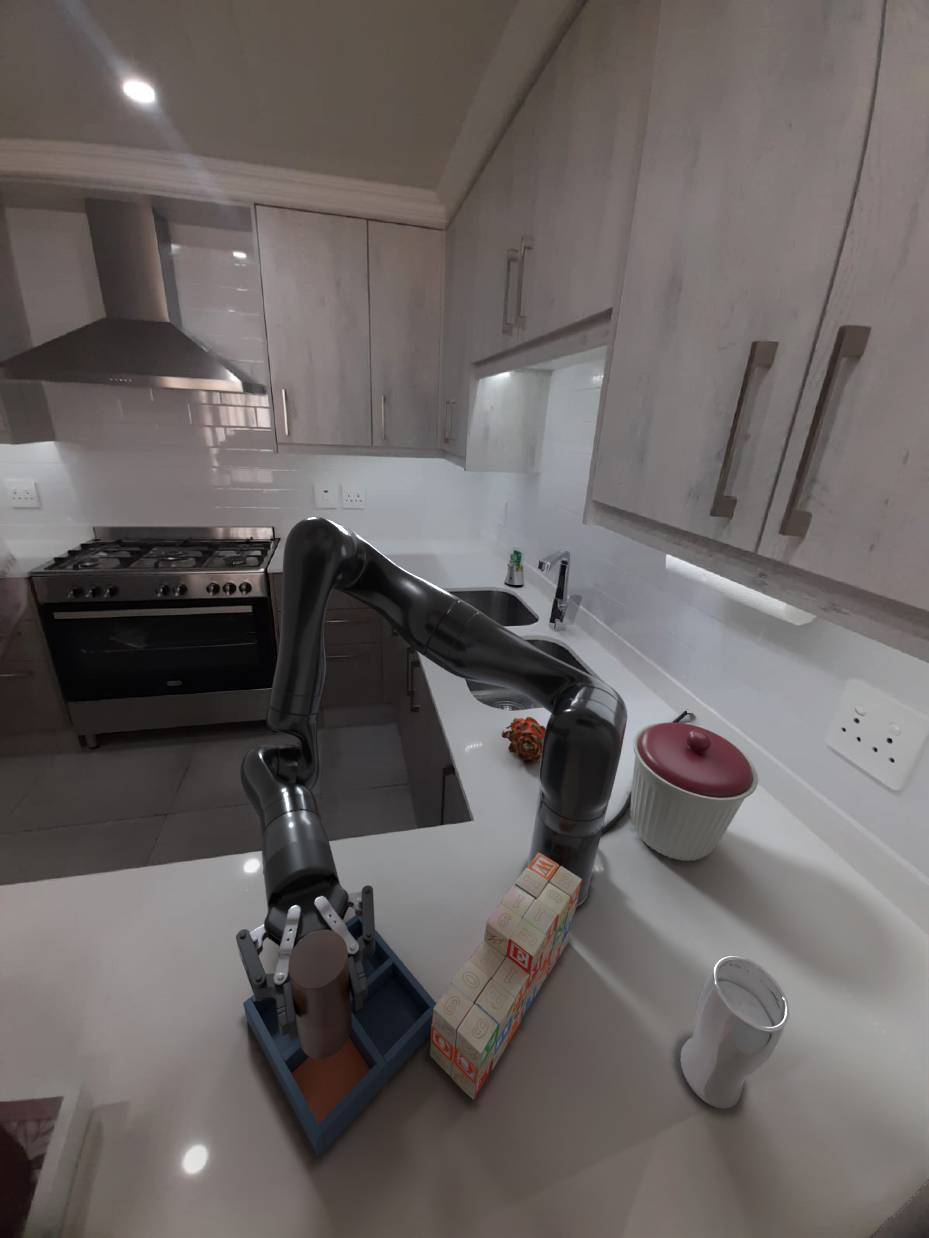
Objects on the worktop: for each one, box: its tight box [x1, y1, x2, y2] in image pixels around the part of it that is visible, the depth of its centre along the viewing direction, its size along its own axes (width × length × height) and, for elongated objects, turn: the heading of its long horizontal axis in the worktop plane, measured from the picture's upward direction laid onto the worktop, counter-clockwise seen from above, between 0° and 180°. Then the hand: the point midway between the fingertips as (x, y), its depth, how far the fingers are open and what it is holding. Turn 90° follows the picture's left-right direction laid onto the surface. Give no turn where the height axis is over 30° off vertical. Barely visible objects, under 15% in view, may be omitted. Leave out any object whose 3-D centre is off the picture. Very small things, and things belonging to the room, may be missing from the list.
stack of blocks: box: [429, 853, 582, 1101], centre depth 57 cm, size 21×6×12 cm, turn 142°
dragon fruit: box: [501, 716, 546, 763], centre depth 99 cm, size 8×8×12 cm
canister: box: [630, 721, 759, 862], centre depth 79 cm, size 18×18×21 cm
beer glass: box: [679, 955, 790, 1110], centre depth 50 cm, size 7×7×15 cm
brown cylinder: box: [288, 930, 352, 1059], centre depth 45 cm, size 5×5×11 cm
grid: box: [242, 914, 437, 1159], centre depth 55 cm, size 15×15×4 cm
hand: (327, 1017), depth 42 cm, fingers closed on brown cylinder, 5 cm apart
